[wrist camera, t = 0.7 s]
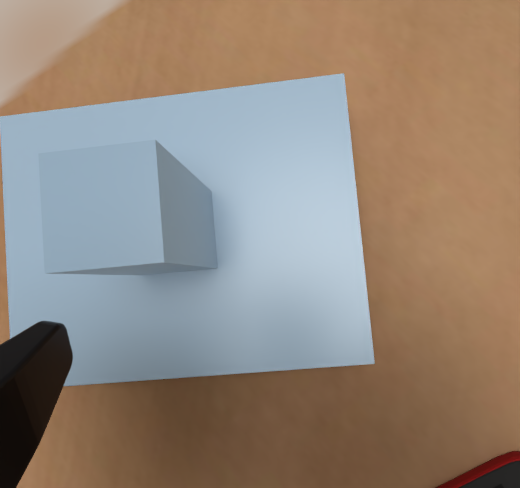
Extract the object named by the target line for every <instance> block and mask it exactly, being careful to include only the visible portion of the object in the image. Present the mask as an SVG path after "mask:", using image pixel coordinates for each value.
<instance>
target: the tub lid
mask: <svg viewBox="0 0 520 488" xmlns="http://www.w3.org/2000/svg"><path fill="white" fill-rule="evenodd" d="M0 134H1V155H2V176H3V197H4V219H5V240H6V261H7V283H8V304H9V325H10V339H11V338H12V337H14V336H16V335H17V334H19V333H21V332H22V331H24V330H26V329H27V328H29V327H31V326H32V325H34V324H36V323H37V322H40V321H52V322H58V323H62V324H64V325H65V327H66V329H67V332H68V336H69V340H70V344H71V348H72V352H73V362H72V366H71V369H70V371H69V373H68V376H67V378H66V381H65V383H64V386H75V385H88V384H102V383H116V382H130V381H144V380H157V379H171V378H185V377H199V376H213V375H227V374H240V373H254V372H268V371H282V370H296V369H309V368H323V367H337V366H351V365H365V364H375V361H374V352H373V343H372V333H371V324H370V314H369V305H368V295H367V286H366V276H365V267H364V257H363V248H362V239H361V229H360V220H359V210H358V201H357V191H356V182H355V172H354V163H353V154H352V144H351V135H350V125H349V116H348V106H347V97H346V87H345V78H344V74H336V75H328V76H320V77H312V78H304V79H296V80H288V81H280V82H272V83H264V84H256V85H248V86H240V87H232V88H224V89H217V90H209V91H201V92H193V93H185V94H177V95H169V96H161V97H153V98H145V99H137V100H129V101H121V102H113V103H105V104H97V105H89V106H81V107H73V108H66V109H58V110H50V111H42V112H34V113H26V114H18V115H10V116H2V117H0Z"/></svg>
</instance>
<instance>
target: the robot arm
mask: <svg viewBox="0 0 520 488" xmlns="http://www.w3.org/2000/svg"><path fill="white" fill-rule="evenodd" d="M72 362H73V352H72V348H71V344H70V340H69V336H68V332H67V329H66V327H65V325H64V324H62V323H58V322H52V321H40V322H37V323H36V324H34V325H32V326H31V327H29V328H27V329H26V330H24V331H22V332H21V333H19V334H17V335H16V336H14V337H12V338H11V339H9V340H7V341H6V342H4V343H2V344H1V345H0V488H16V487H17V485H18V483H19V481H20V479H21V477H22V476H23V474H24V472H25V470H26V468H27V466H28V464H29V463H30V461H31V459H32V457H33V455H34V453H35V451H36V449H37V447H38V445H39V443H40V441H41V439H42V436H43V434H44V432H45V429H46V427H47V424H48V422H49V420H50V417H51V415H52V412H53V410H54V407H55V405H56V403H57V400H58V398H59V395H60V393H61V390H62V388H63V386H64V383H65V381H66V378H67V376H68V373H69V371H70V369H71V366H72Z"/></svg>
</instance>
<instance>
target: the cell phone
mask: <svg viewBox="0 0 520 488" xmlns="http://www.w3.org/2000/svg"><path fill="white" fill-rule="evenodd" d="M437 488H520V451H512V452H509V453H507V454H504V455H501V456H498V457H496V458H494V459H492V460H490V461H488V462H486V463H484V464H482V465H480V466H478V467H476V468H474V469H472V470H470V471H468V472H466V473H464V474H462V475H460V476H458V477H456V478H454V479H452V480H450V481H448V482H446V483H444V484H442V485H440V486H438V487H437Z"/></svg>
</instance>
